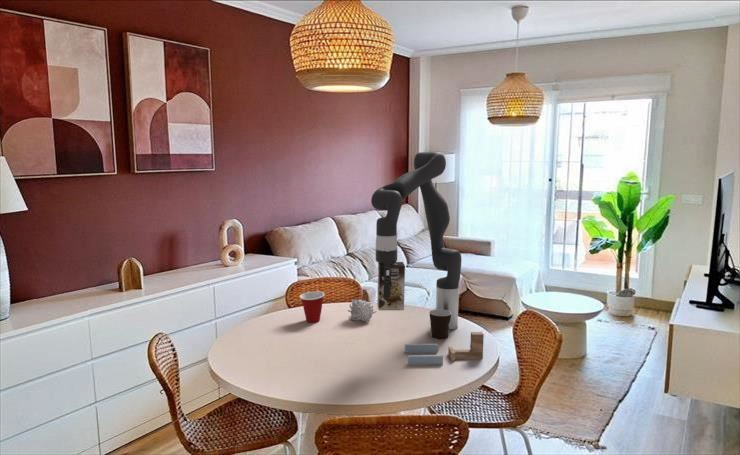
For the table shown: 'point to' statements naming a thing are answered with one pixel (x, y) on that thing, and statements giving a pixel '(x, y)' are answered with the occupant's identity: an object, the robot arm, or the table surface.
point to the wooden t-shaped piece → (471, 353)
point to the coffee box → (392, 287)
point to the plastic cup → (312, 305)
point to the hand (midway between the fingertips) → (386, 294)
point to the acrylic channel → (423, 358)
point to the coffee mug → (440, 323)
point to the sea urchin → (361, 310)
